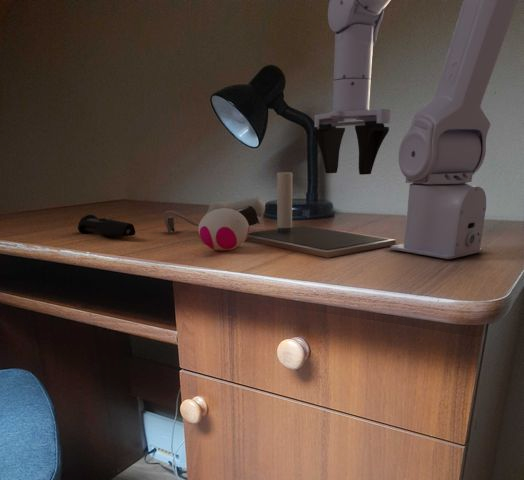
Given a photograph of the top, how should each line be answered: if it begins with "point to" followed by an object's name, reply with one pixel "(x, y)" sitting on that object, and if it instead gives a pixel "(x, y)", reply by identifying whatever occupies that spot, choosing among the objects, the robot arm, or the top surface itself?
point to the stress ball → (223, 229)
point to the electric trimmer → (105, 227)
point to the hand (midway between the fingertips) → (347, 173)
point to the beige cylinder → (284, 201)
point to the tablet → (319, 241)
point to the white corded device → (246, 207)
